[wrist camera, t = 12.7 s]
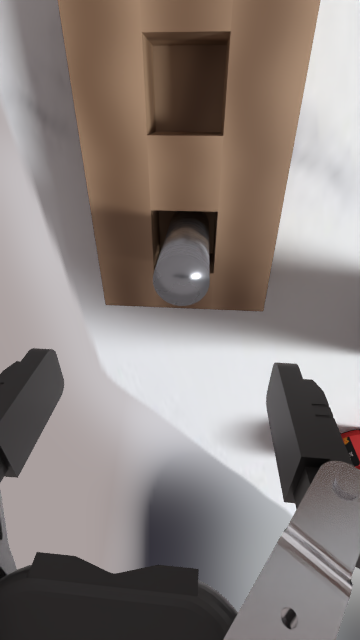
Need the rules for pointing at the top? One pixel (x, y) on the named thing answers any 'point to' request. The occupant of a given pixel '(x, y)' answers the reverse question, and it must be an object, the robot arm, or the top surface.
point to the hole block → (187, 132)
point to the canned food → (353, 446)
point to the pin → (184, 260)
